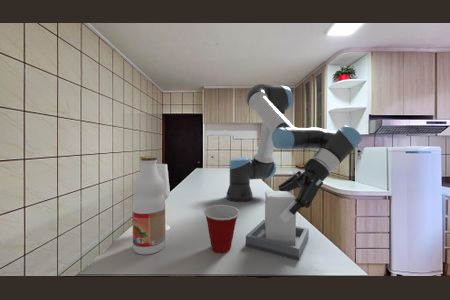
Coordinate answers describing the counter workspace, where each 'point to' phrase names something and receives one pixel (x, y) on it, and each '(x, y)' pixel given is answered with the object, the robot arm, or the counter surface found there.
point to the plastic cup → (221, 226)
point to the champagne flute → (164, 175)
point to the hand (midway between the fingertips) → (274, 212)
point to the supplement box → (273, 223)
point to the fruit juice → (148, 209)
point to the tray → (259, 242)
